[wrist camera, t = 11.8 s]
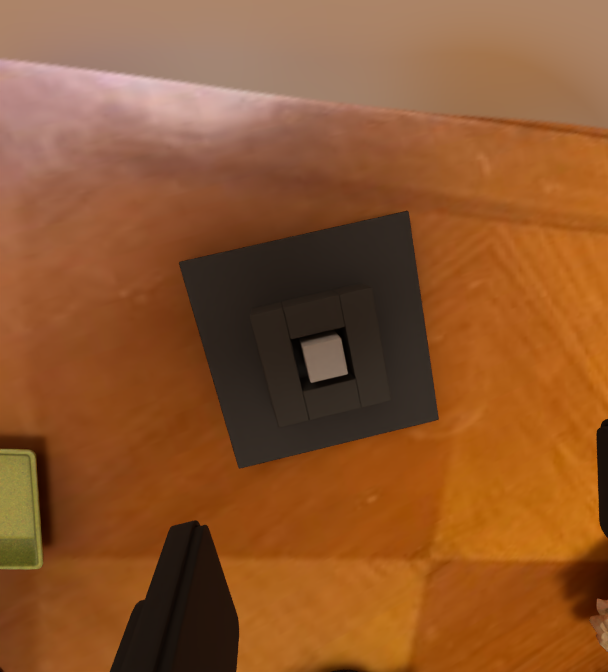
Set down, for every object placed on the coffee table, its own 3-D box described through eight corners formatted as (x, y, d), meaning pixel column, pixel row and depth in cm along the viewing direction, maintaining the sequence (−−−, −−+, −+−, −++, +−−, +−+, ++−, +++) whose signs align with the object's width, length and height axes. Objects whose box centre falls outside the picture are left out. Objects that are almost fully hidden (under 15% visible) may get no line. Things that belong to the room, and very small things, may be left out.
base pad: (183, 261, 24) (165, 264, 20) (400, 212, 25) (428, 205, 21) (240, 457, 28) (235, 497, 24) (430, 411, 28) (460, 441, 24)
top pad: (251, 308, 24) (249, 315, 22) (362, 282, 24) (372, 287, 22) (277, 411, 26) (278, 428, 23) (380, 386, 26) (392, 400, 24)
